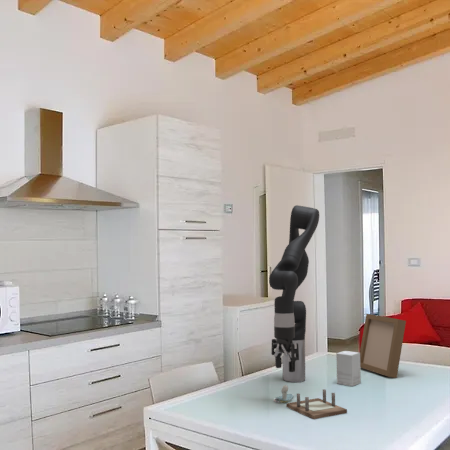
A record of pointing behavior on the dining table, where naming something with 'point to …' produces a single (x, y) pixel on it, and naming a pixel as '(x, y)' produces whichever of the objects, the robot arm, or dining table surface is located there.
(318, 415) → the pin tray
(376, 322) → the photo frame
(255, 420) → the dining table surface
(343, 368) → the supplement box
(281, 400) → the pacifier
